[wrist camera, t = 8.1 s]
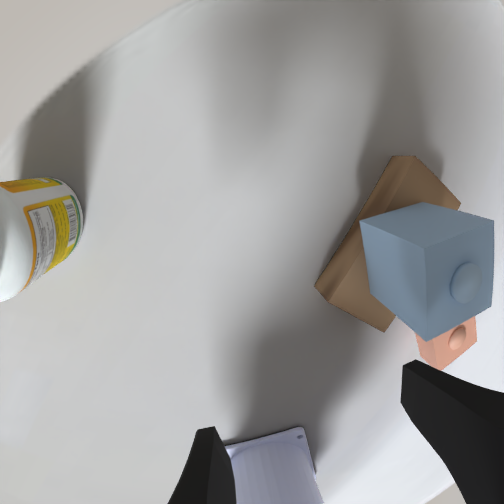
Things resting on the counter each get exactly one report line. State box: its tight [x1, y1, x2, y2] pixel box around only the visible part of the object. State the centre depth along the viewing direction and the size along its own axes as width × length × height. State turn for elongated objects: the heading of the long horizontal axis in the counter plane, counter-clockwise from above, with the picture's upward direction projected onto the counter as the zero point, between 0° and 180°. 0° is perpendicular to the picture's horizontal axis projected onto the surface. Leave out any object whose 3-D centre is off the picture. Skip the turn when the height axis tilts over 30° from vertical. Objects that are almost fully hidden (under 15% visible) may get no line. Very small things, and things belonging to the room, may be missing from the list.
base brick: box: [314, 156, 461, 332], centre depth 19 cm, size 10×5×3 cm, turn 148°
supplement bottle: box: [0, 177, 83, 302], centre depth 12 cm, size 5×5×10 cm
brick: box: [415, 316, 477, 371], centre depth 22 cm, size 4×4×3 cm
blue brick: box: [359, 202, 494, 342], centre depth 14 cm, size 4×4×6 cm
